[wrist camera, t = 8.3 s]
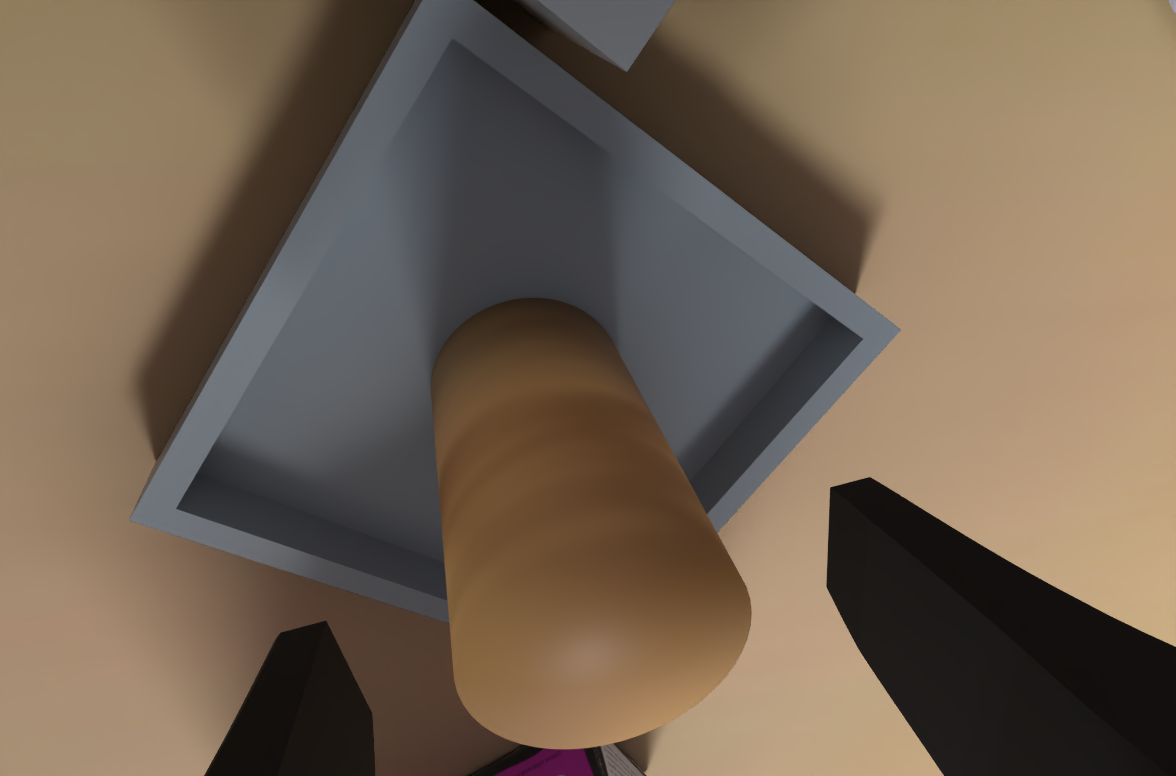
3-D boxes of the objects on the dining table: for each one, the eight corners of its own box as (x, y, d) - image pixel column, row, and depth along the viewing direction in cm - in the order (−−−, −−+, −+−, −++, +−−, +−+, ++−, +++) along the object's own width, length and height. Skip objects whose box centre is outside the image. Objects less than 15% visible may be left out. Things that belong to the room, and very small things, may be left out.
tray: (856, 295, 17) (900, 329, 16) (578, 615, 20) (592, 670, 19) (432, -31, 12) (438, -27, 11) (154, 463, 15) (128, 520, 14)
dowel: (657, 357, 16) (809, 596, 10) (548, 489, 17) (628, 772, 11) (503, 260, 14) (579, 485, 8) (393, 416, 15) (392, 710, 9)
